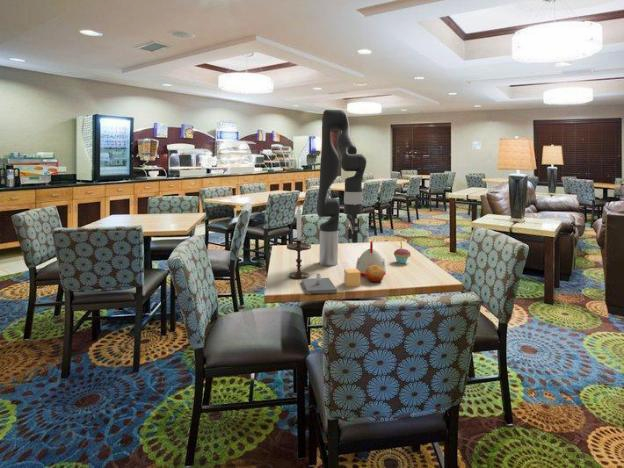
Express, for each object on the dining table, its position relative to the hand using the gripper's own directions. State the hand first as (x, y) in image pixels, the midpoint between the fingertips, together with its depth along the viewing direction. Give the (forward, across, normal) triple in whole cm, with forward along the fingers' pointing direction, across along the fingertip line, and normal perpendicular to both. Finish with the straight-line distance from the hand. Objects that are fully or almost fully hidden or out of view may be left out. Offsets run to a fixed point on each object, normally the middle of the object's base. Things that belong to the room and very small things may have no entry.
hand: (352, 240), depth 183 cm
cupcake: (+18, -34, +33) cm, 51 cm away
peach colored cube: (+19, 0, 0) cm, 19 cm away
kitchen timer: (+19, -15, +12) cm, 27 cm away
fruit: (+19, -3, +11) cm, 22 cm away
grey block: (+19, +3, -15) cm, 24 cm away
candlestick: (+19, -14, -22) cm, 32 cm away
